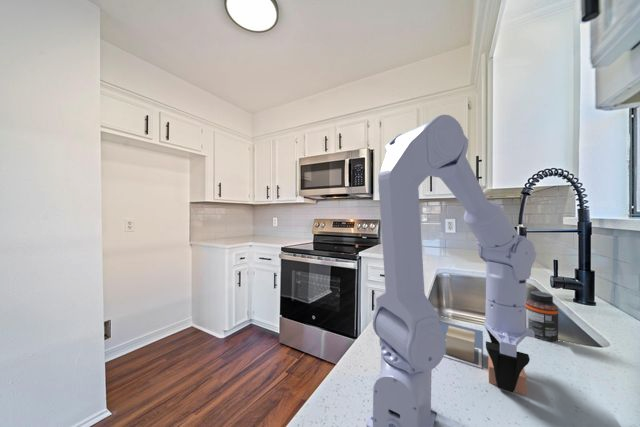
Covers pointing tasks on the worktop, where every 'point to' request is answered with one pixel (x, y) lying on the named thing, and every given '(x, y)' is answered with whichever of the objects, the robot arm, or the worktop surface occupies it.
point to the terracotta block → (520, 383)
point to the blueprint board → (478, 345)
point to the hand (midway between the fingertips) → (503, 376)
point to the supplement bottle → (542, 316)
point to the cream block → (460, 343)
